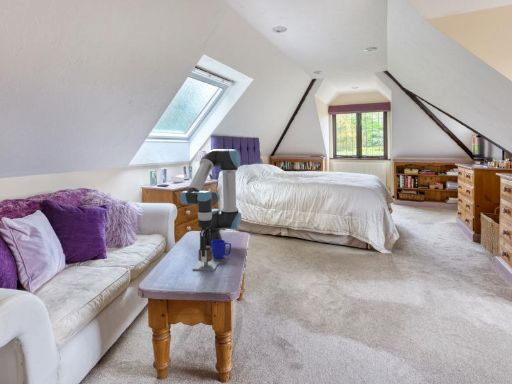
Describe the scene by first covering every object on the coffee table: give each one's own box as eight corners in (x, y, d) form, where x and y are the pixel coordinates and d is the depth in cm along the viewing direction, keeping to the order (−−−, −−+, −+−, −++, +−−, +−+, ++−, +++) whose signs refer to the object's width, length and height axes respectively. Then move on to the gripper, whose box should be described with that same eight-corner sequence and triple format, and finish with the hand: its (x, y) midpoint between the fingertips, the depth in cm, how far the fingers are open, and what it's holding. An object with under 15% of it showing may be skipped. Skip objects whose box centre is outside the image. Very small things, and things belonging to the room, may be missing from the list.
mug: (229, 260, 193) (229, 244, 191) (209, 259, 195) (209, 243, 194) (232, 255, 201) (232, 240, 199) (214, 254, 203) (213, 239, 202)
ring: (201, 257, 186) (201, 247, 185) (213, 257, 185) (213, 247, 184) (197, 261, 179) (197, 251, 178) (210, 262, 178) (210, 251, 178)
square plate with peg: (198, 262, 190) (198, 249, 188) (218, 263, 188) (218, 249, 187) (192, 270, 178) (192, 256, 177) (214, 271, 176) (213, 257, 175)
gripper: (203, 215, 189) (204, 253, 192) (192, 223, 170) (194, 265, 173) (215, 215, 188) (216, 253, 192) (207, 223, 169) (207, 266, 172)
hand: (205, 259), depth 182 cm, fingers closed on ring, 7 cm apart
